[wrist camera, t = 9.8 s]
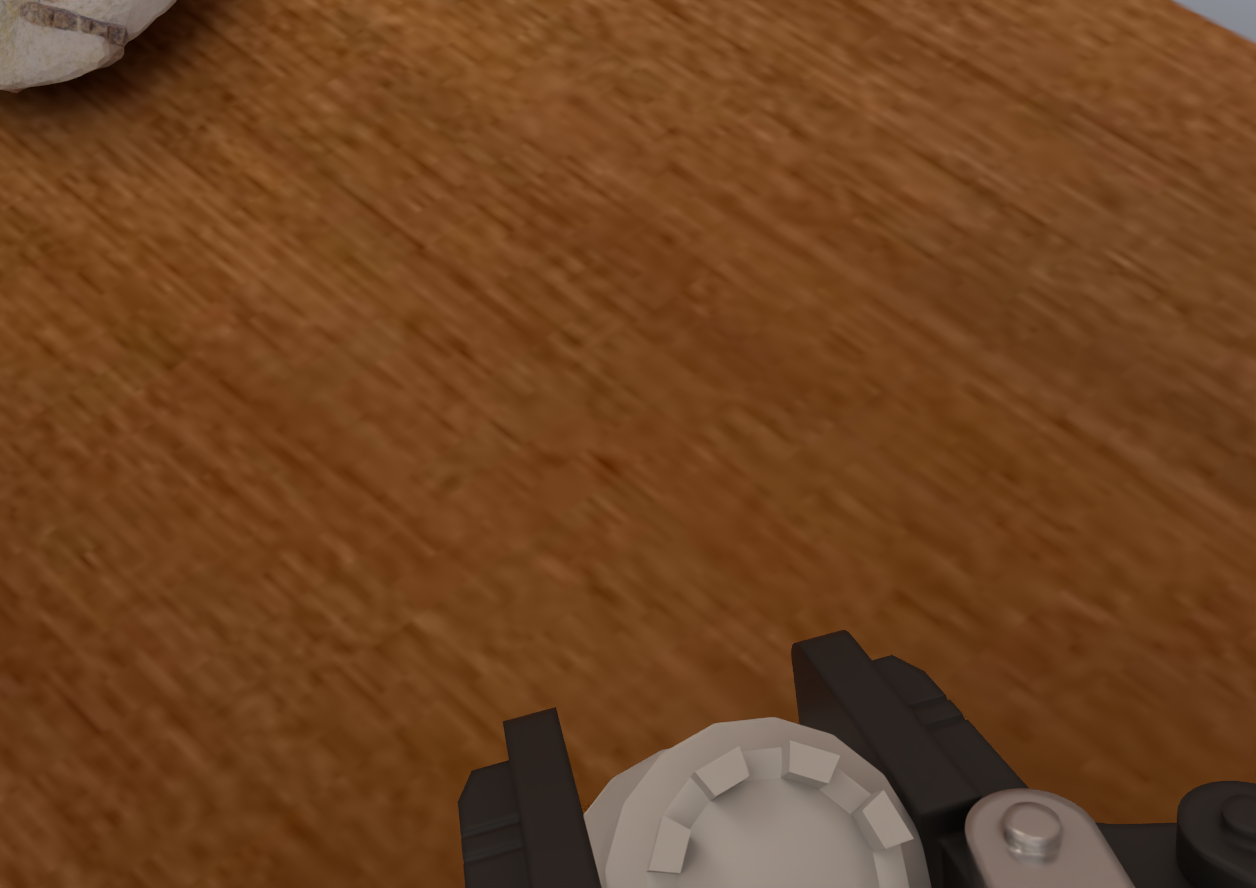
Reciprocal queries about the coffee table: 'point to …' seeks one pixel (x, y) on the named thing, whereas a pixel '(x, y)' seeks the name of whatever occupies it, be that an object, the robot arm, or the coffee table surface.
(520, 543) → the coffee table surface
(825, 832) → the rook chess piece
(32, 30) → the stone
